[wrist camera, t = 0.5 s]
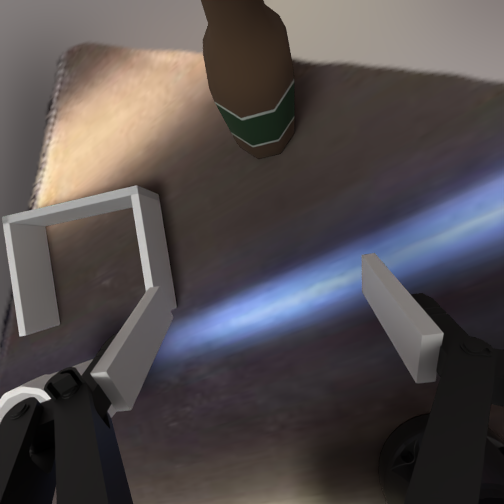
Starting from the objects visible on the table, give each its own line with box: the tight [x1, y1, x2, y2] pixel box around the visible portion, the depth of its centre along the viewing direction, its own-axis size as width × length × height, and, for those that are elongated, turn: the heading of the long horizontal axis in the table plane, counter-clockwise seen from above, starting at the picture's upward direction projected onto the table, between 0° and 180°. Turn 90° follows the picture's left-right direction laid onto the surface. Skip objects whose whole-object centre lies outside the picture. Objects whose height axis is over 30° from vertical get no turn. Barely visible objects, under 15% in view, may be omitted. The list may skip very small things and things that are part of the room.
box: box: [2, 185, 177, 336], centre depth 35 cm, size 16×20×5 cm
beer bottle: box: [201, 0, 294, 159], centre depth 22 cm, size 8×8×24 cm
